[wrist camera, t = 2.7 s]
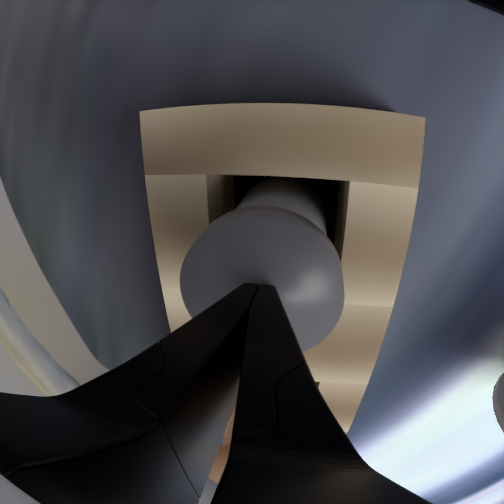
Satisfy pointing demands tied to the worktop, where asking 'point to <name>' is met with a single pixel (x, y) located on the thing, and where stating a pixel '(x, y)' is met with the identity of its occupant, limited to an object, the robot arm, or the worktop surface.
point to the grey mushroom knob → (271, 258)
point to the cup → (499, 401)
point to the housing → (304, 166)
